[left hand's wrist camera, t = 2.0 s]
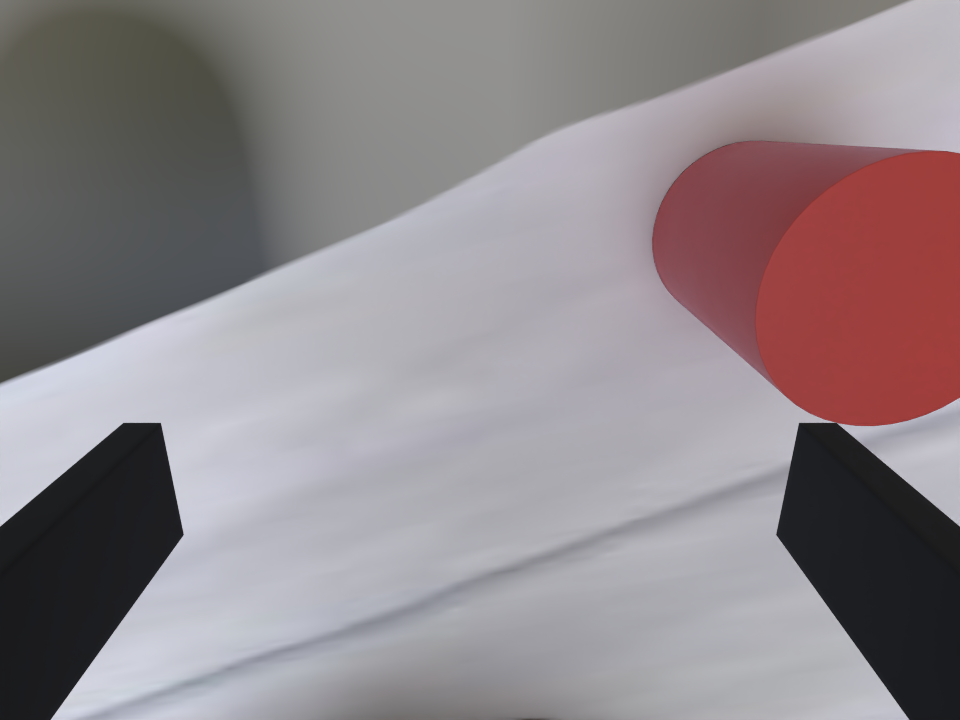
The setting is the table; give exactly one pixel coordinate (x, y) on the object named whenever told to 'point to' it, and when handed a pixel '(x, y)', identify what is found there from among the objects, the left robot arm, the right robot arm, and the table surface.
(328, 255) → the table surface
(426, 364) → the table surface
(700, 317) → the canister
